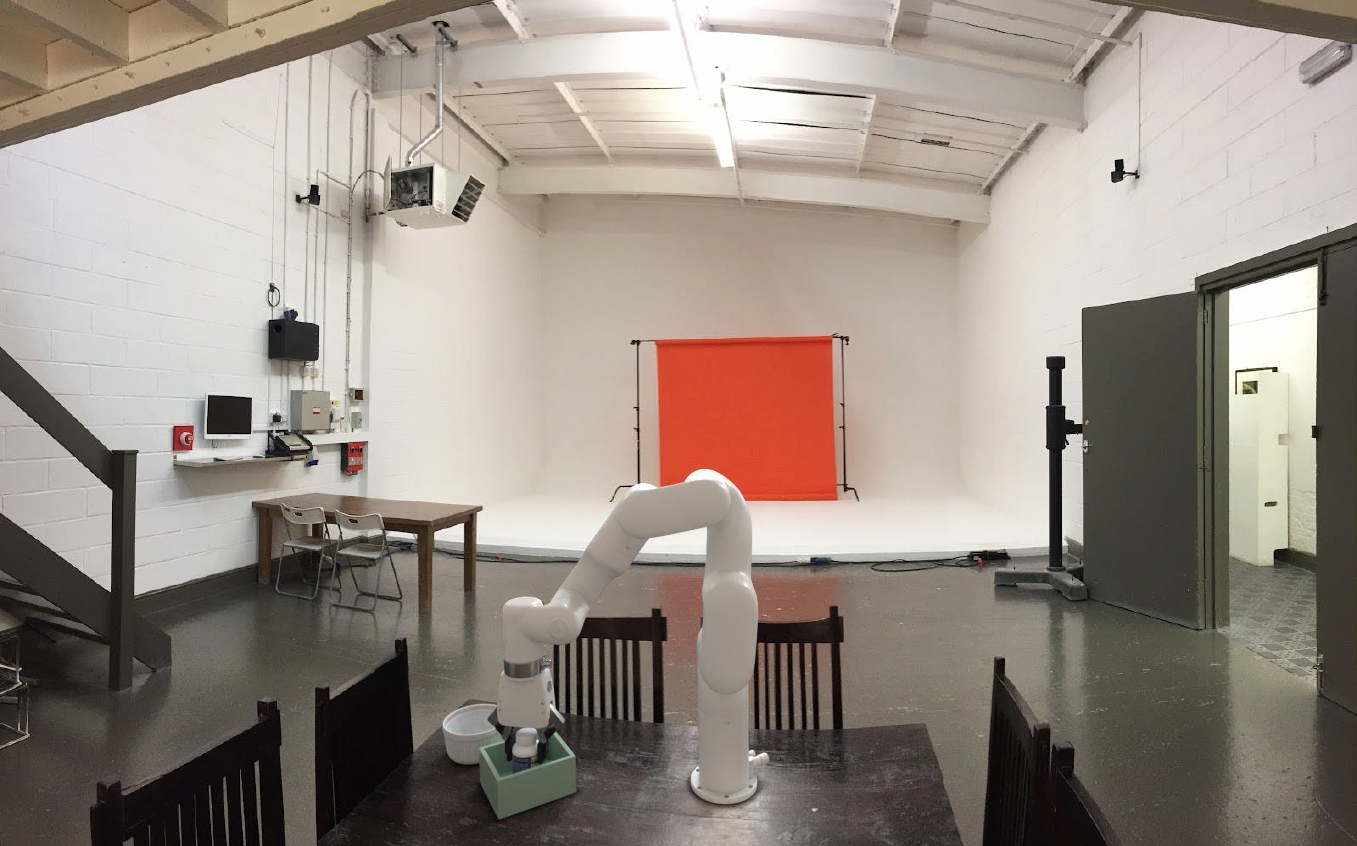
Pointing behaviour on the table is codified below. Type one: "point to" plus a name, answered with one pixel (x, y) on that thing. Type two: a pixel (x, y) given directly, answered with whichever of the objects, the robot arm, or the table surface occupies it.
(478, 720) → the ramekin
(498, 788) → the green open box
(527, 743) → the pill bottle
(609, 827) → the table surface
